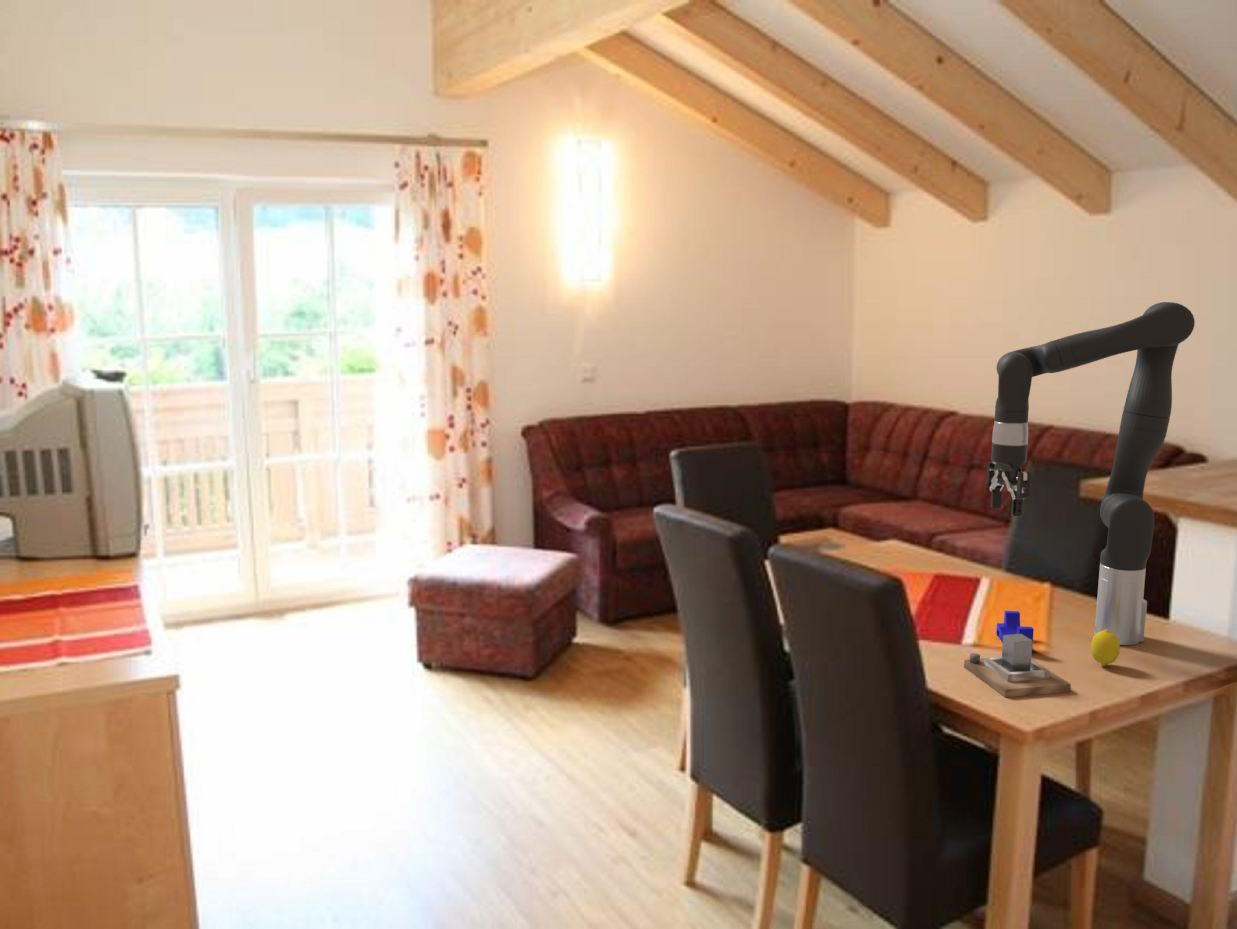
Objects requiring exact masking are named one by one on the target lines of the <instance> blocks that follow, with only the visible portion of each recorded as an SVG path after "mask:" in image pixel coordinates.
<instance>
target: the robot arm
mask: <svg viewBox="0 0 1237 929" xmlns="http://www.w3.org/2000/svg"><path fill="white" fill-rule="evenodd" d="M1195 323H1196V321H1195V317H1194V314H1193V313H1192V311H1191V310H1190V309H1189V308H1188V307H1186V306H1184V305H1183V304H1180V303H1177V302H1173V301H1172V302H1171V301H1170V302H1169V301H1168V302H1167V301H1163V302H1157V303H1155V304H1153V305H1150V306H1149V307H1148V308H1147V309H1146V310H1145V311H1144V312H1143V314H1142V315H1140V316H1138V317H1135V318H1133V319H1130V320H1128V321H1125V322H1122V323H1119V324H1114V325H1111V326H1108V327H1102V328H1099V329H1093V330H1088V331H1083V332H1079V333H1075V334H1071V335H1067V336H1063V337H1060V338H1058V339H1054V340H1050V341H1048V342H1046V343H1043V344H1038V345H1035V346H1029V347H1024V348H1021V349H1016V350H1013V351H1009V352H1007V353H1004V354H1003V355H1002V356H1001V357H1000V358H999V359H998V361H997V363H996V373H997V375H998V383H997V384H998V386H997V389H998V390H997V398H996V400H995V407H994V408H995V409H994V424H993V428H992V438H991V442H992V443H991V456H990V457H991V458H990V459H991V461H990V462H989V461H988V462H987V463H986V464H987V465H986V474H985V475H986V477H985V487H986V488H989V491H990V492H991V493H990V507H991V508H993V509H999V508H1001V507H1002V496H1003V495H1002V494H1003V492H1002V490H1003V489H1004V487H1006V489H1007V492H1009V493H1010V495H1011V498H1012V499H1011V507H1010V516H1012V517H1021V516H1022V513H1023V504H1024V503H1023V502H1024V500H1025V499H1030V497H1031V472H1030V471H1029V470H1028V471H1023V470H1022V465H1024V464H1026V463H1027V461H1028V460H1027V459H1028V445H1029V422H1028V421H1029V407H1030V406H1029V398H1030V394H1031V393H1030V392H1031V387H1032V382H1033V378H1034V377H1037V376H1040V375H1045V374H1055V373H1060V372H1064V371H1067V370H1068V371H1069V370H1071V369H1075V368H1077V367H1082V366H1084V365H1088V364H1092V363H1094V362H1098V361H1101V360H1103V359H1107V358H1109V357H1112V356H1113V357H1115V356H1117V355H1120V354H1125V353H1129V352H1133V351H1137V352H1136V359H1135V365H1134V369H1133V372H1132V375H1131V380H1130V382H1129V387H1128V390H1127V394H1126V398H1125V402H1124V406H1123V411H1122V414H1121V419H1120V425H1119V432H1118V435H1117V436H1118V437H1117V441H1116V442H1117V443H1116V446H1115V451H1114V452H1115V453H1114V458H1113V465H1112V469H1111V472H1110V476H1109V480H1108V482H1107V485H1106V488H1105V492H1104V495H1103V496H1102V500H1101V503H1100V506H1099V514H1100V515H1099V516H1100V518H1101V521H1102V522H1103V524H1104V525H1105V526H1106V528H1107V529H1108V531H1107V539H1106V540H1107V541H1106V546H1105V548H1104V549H1102V551H1101V552H1100V558H1099V559H1100V560H1099V574H1098V586H1097V597H1096V598H1097V599H1096V608H1095V609H1096V610H1095V622H1094V623H1095V624H1094V632H1093V636H1094V635H1095V634H1096V633H1098V632H1100V631H1104V630H1105V629H1107V630H1109V631H1110V632H1112V633H1113V634H1115V635H1116V636H1117V638H1118V640H1119V644H1120V646H1135V645H1137V644H1139V643H1140V642H1141V643H1142V642H1145V641H1144V640H1145V628H1146V618H1147V607H1148V600H1146V599H1144V596H1145V595H1144V594H1145V585H1146V584H1145V582H1146V581H1145V580H1146V569H1147V562H1148V560H1149V557H1150V556H1151V553H1152V552H1151V551H1152V545H1153V536H1154V530H1155V515H1154V514H1155V513H1154V511H1153V508H1152V506H1151V505H1150V504H1149V503H1148V501H1146V500H1144V498H1143V497H1144V491H1145V490H1144V489H1145V486H1146V485H1145V484H1146V480H1147V475H1148V472H1149V469H1150V467H1151V465H1152V463H1153V462H1154V460H1155V458H1156V457H1157V455H1158V454H1159V452H1160V450H1161V448H1162V446H1163V444H1164V442H1165V440H1166V437H1167V432H1168V428H1169V423H1170V420H1171V414H1172V405H1173V388H1172V387H1173V385H1172V384H1173V383H1172V382H1173V381H1172V375H1173V374H1172V373H1173V372H1172V371H1173V367H1174V366H1173V365H1174V361H1175V358H1176V355H1177V351H1178V347H1179V345H1180V344H1181V343H1182V342H1185V341H1186V340H1187V339H1188V338H1189V337H1190V336H1191V335H1192V333H1193V331H1194V329H1195V325H1196V324H1195ZM991 478H992V479H991ZM1023 489H1024V490H1023Z"/></svg>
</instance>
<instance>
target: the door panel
mask: <svg viewBox="0 0 1237 929" xmlns="http://www.w3.org/2000/svg"><path fill="white" fill-rule="evenodd" d="M1001 663H1002V656H996V657H995V656H994V657H985V658H984V657H983V658H981V655H980V654H979V653H973V652H972V653H969V659H964V661H963V668H965V669H966V670H967V671H969V673H971V674H973V675H974V676H976V677H977V678H978V679H979V680H981V681H982V682H984V683H985V684H986V685H988V686H989V687H990V688H991V689H993V690H994V691H995V692H997V693H998V694H1000V695H1001V696H1002V697H1003V698H1011V697H1013V698H1014V697H1015V698H1016V697H1023V696H1025V697H1027V696H1035V695H1036V696H1037V695H1048V694H1062V693H1070V692H1071V688H1072V684H1071V683H1070V682H1068V681H1067V680H1065V679H1064V678H1062V677H1061V676H1059V675H1057V674H1056V673H1054V672H1052V671H1051V670H1050V669H1048V668H1046V667H1045V666H1044V665H1042V664H1040V663H1038V662H1037V661H1036V660H1034V659H1032V658H1031V668H1030V671H1020V672H1009V671H1007V670H1006V669H1004V668H1003V667H1001Z"/></svg>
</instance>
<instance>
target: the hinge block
mask: <svg viewBox="0 0 1237 929" xmlns="http://www.w3.org/2000/svg"><path fill="white" fill-rule="evenodd" d="M1031 654H1032V655H1033V646H1032V640H1031V639H1029V638H1027V637H1026V636H1024V635H1022V634H1012V635H1003V643H1002V648H1001V657H1002V663H1001V667H1003V668H1004V669H1006V670H1007V671H1009V672H1020V671H1030V668H1031V659H1032V655H1031Z"/></svg>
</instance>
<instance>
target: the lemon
mask: <svg viewBox="0 0 1237 929" xmlns="http://www.w3.org/2000/svg"><path fill="white" fill-rule="evenodd" d="M1120 650H1121V645H1120V644H1119V640H1118V638H1117V636H1116V635H1115V634H1113V633H1112V632H1110V631H1109V630H1107V629H1105V630H1104V631H1100V632H1098V633H1096V634H1095V635H1094V634H1093V637H1092V640H1091V642H1090V653H1091V656H1092V658H1093V659H1094V660H1095V661H1096V662H1098V663H1099V664H1100V665H1101V666H1102V667H1106V666H1107V665H1110V664H1113V663H1114V662H1115V661H1117V659H1118V658H1119V655H1120V652H1121V651H1120Z"/></svg>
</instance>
